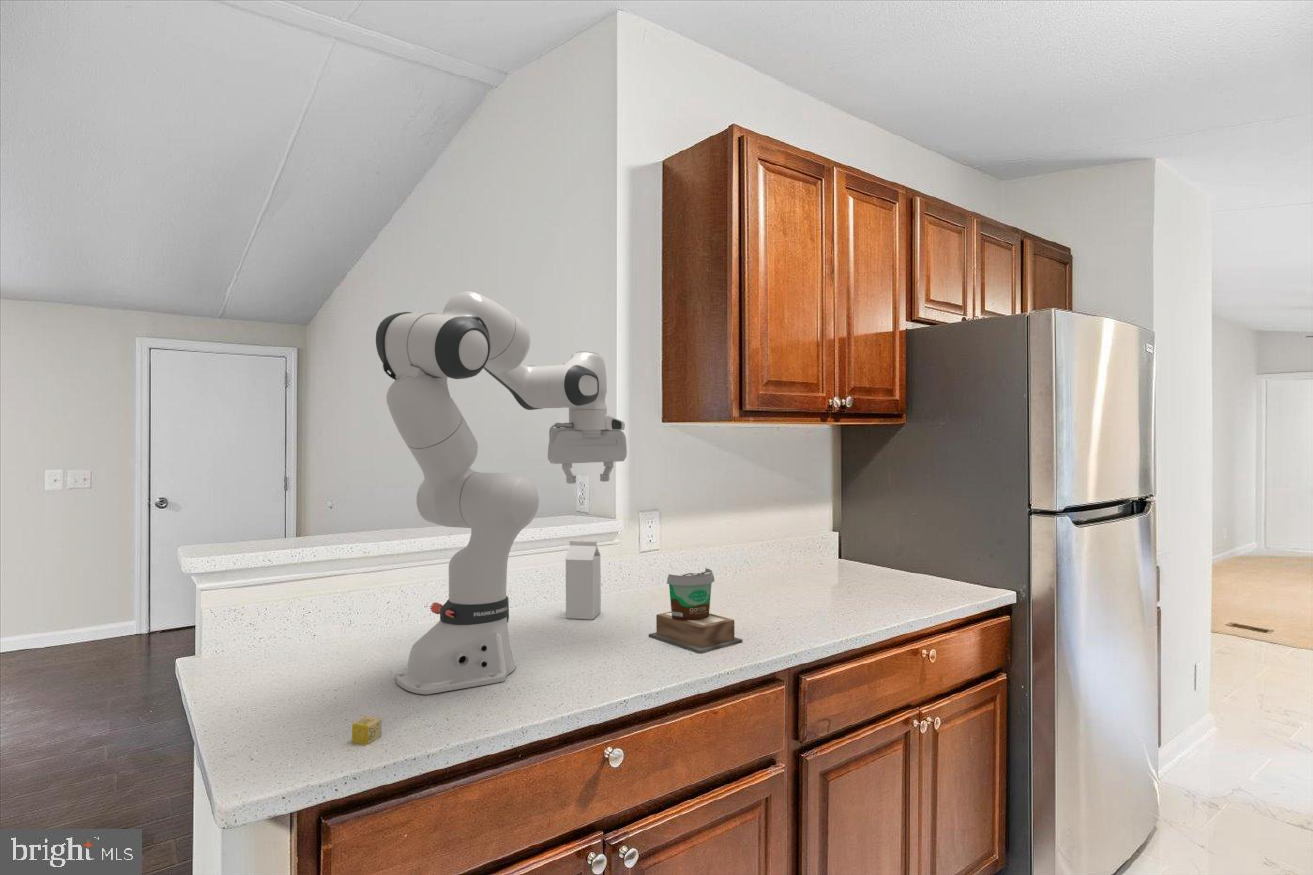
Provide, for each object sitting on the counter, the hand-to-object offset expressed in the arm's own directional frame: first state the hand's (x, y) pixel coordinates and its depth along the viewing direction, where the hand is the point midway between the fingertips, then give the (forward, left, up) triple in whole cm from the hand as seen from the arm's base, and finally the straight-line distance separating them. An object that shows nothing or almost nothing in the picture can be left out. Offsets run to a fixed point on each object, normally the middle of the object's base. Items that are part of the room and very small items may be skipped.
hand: (588, 482), depth 173 cm
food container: (+15, -21, -30) cm, 40 cm away
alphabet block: (-60, -27, -35) cm, 75 cm away
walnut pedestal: (+15, -20, -35) cm, 43 cm away
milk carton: (+8, +14, -35) cm, 39 cm away
